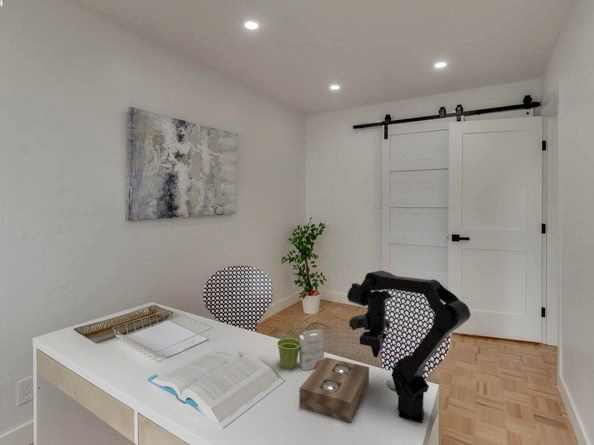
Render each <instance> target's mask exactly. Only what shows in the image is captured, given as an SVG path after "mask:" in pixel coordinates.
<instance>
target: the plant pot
mask: <svg viewBox="0 0 594 445" xmlns="http://www.w3.org/2000/svg"><path fill="white" fill-rule="evenodd" d="M276 346H278V347H277V348H278V350H279V351H278V353H279V361H280V362H279V364H280V367H282V368H283V369H288V370H289V369H293V368H296V366H297V364H298V363H297V362H298V357H299V349H300V347H301V345H300V346H299V339H296V338H292V337H286V338H281V339H279V340H277V341H276Z"/></svg>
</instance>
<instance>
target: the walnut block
mask: <svg viewBox="0 0 594 445" xmlns="http://www.w3.org/2000/svg"><path fill="white" fill-rule="evenodd" d="M336 366H346V367H347V368H348V369H349V373H348V375H345V374H341V373H337V372H335V367H336ZM327 381H332V382H335V383H337V384H338V391H337V392H332V391H328V390H325V389H323V383H325V382H327ZM369 385H370V366H367V365H361V364H358V363H352V362H348V361H344V360H341V359H335V358H331V357H327V356H324V360H323V361H322V362H321V363H320V364H319V365H318V367H317V368H316V369H313V371H312V373H311V374H310V375H309V376H308V377H307V378H306V379H305V381H304V382H303V383H302V384H301V386H300V387H299V390H298V391H299V399H298V401H299V404H298V405H299V408H301V409H304V410H307V411H310V412H313V413H317V414H320V415H323V416H326V417H330V418H333V419H336V420H340V421H342V422H346V423H349V424H351V423H352V422H353V418H355V415H356V412H357V410H358V408H359V406H360V403H361V401H362V400H363V398H364V395H365V393H366V391H367V389H368V386H369Z"/></svg>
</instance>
